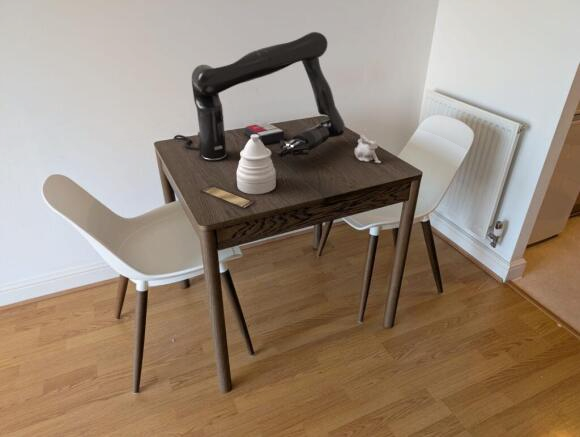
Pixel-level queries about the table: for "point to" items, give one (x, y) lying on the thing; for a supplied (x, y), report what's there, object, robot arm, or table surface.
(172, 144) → the table surface
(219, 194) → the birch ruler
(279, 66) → the robot arm
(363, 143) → the white lumpy figure
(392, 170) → the table surface
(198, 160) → the table surface
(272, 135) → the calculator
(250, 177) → the honey pot
